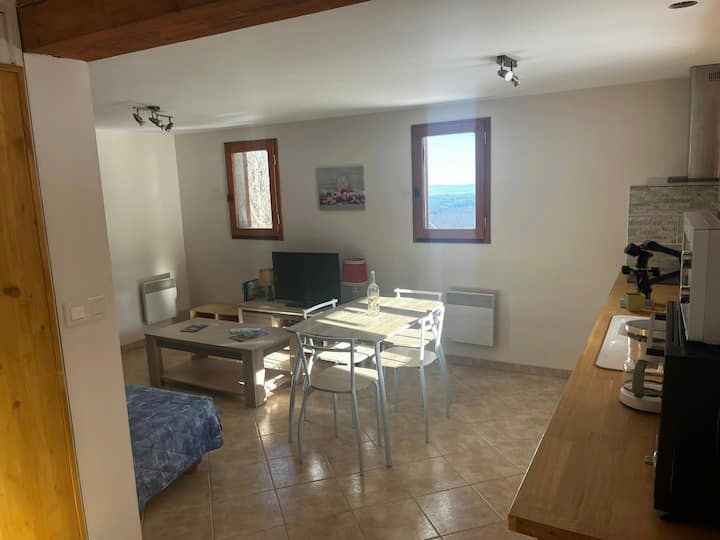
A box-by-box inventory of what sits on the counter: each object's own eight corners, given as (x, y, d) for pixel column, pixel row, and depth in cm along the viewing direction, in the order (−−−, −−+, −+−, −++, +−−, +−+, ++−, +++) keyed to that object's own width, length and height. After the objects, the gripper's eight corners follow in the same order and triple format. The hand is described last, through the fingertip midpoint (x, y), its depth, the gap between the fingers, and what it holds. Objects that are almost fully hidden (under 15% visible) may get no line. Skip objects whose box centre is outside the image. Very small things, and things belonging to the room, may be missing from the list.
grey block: (620, 306, 296) (620, 298, 295) (629, 306, 294) (629, 298, 293) (619, 307, 292) (620, 299, 291) (629, 308, 290) (629, 300, 289)
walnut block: (645, 307, 291) (646, 299, 291) (653, 308, 287) (654, 300, 287) (640, 308, 289) (640, 300, 288) (648, 309, 285) (648, 301, 284)
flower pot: (645, 312, 279) (646, 295, 277) (627, 312, 280) (627, 295, 279) (639, 308, 287) (640, 292, 286) (622, 308, 289) (623, 292, 288)
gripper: (663, 269, 298) (658, 293, 291) (626, 267, 309) (621, 290, 302) (661, 257, 290) (656, 281, 284) (623, 256, 302) (618, 278, 295)
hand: (638, 283), depth 291 cm, fingers closed
